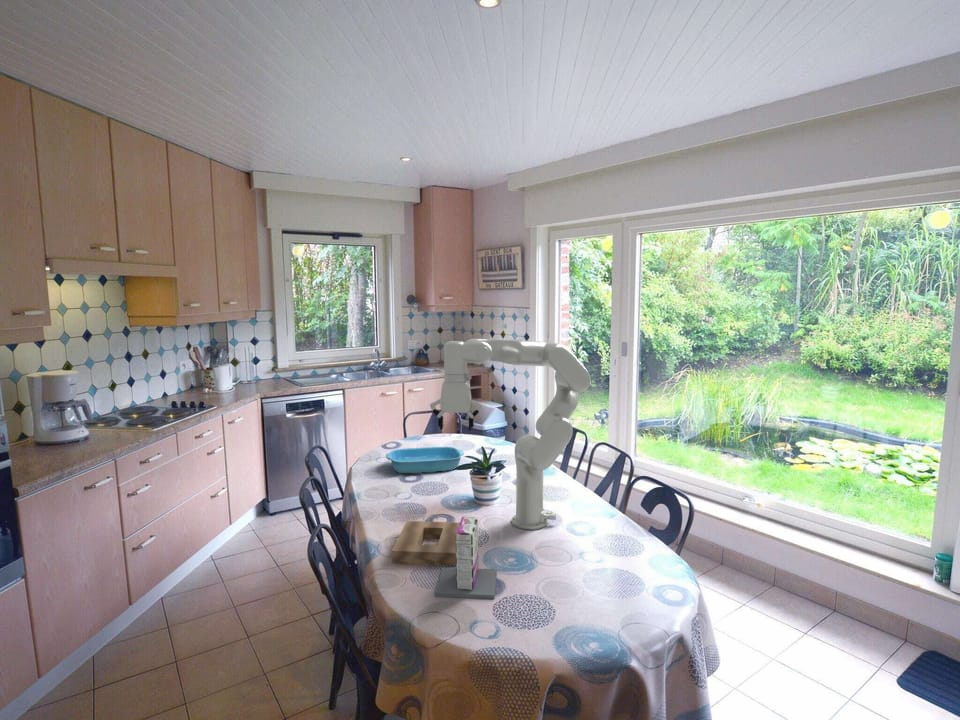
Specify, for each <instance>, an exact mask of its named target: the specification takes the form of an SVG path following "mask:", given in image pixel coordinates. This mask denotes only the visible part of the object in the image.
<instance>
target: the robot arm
mask: <svg viewBox="0 0 960 720" xmlns="http://www.w3.org/2000/svg"><path fill="white" fill-rule="evenodd" d="M443 355H444V357H443V363H444V364H443V366H444V369H443V371H444V372H443V373H444V381H443V382H442V384H441V389H440V398H439V399H438V400H435V401H433V402H431V403H430V404H429V406H430V409H431V411H432V413H433V414H434V415H435V416H436V418H438V419H437V424H438V425H437V427H438V428H439V430H441V431H443V429H444V413H448V414H451V413H452V414H453V413H456V414H458V413H460V414H467V416H468V430H469V431H472V428H474V422H475V421H474V419H475V417H476V416H477V415H478V414H480V413H479V412H480V410H481V409H482V407H483V405H482V403H479V402H478V401H476V400H474V399H472V390H471V385H470V381H468V380H472V375H470V374H468V363H469V364H470V363H471V364H485V363H487V362H500V363H504V364H507V365H511V366H522V367H523V366H530V367H533V366H534V367H548V368H552V369H554V371H555V373H554V380H555V384H556V390H555V395H554V397H553V398H552V400H551V402H550V403H549V404H548V405H547V407H546V408H545V409H544V410H543V412H542V413H541V415H540V416H539V417H538V418H537V420H536V422H535V431H536V432H537V434H538V435H540V437H539V438H538V437H537V436H535V435H532V434H525V435H522V436H520V437H519V438H518V440H517V441H516V443H515V445H514V458H515V466H516V467H515V469H516V470H515V471H516V475H515V476H516V478H515V479H516V481H515V482H516V483H515V484H516V485H515V487H516V490H515V492H516V493H515V496H516V497H515V514H514V515H513V516H512V518H511V524H512V525H513V526H514V527H516V528H519V529H522V530H528V531H529V530H531V531H532V530H539V529H542V528H545V527H546V526H547V524H548V520H551V521H556V520H557V515H556V514H554V513H553V512H552V511H548V512H547V511H544V471H545V470H547V469H549V467H550V468H551V466H552V465H553V464H554V463H555V461H556V460H557V459H558V457H560V455H561V453H562V452H563V451H564V450H565V448H566V447H567V446H568V444H569V443H570V441H571V439H572V436H573V433H574V432H573V431H574V428H573V424H572V423H571V421H570V418H571V416H572V414H573V413H574V412H575V410H576V409H577V407H578V403H579V395H580V394H579V393H582V392H585V391H587V389H588V388H590V386H591V383H592V380H591V378H592V377H591V375H590V372H589V371H588V369H587V368H586V367H585V366H584V365H583V364H582V363H581V361H580V360H579V359H578V358H577V357H576V356H575V355H574V354H573V352H572V351H570V349H569V348H568V347H567V346H565V345H564V344H561V343H558V342H557V343H556V342H551V341H537V340H536V341H535V340H534V341H533V340H532V341H531V340H515V339H514V340H513V339H508V340H507V339H505V340H503V339H487V338H486V339H484V338H471V339H467V340H466V341H461V340H450V341H446V342H445V343H444V346H443ZM438 405H440V411H439V410H438V409H437V407H436V406H438ZM472 405H473V406H475V407H476V408H475V410H474V411H472Z"/></svg>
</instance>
